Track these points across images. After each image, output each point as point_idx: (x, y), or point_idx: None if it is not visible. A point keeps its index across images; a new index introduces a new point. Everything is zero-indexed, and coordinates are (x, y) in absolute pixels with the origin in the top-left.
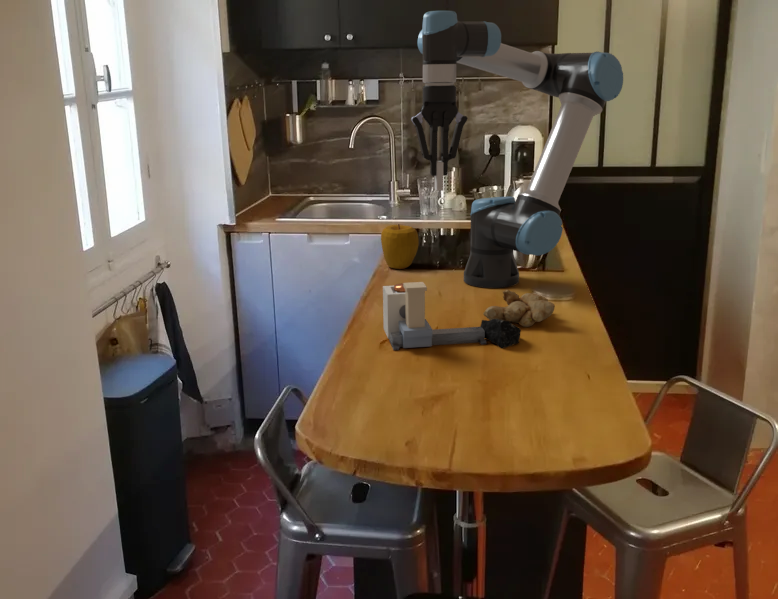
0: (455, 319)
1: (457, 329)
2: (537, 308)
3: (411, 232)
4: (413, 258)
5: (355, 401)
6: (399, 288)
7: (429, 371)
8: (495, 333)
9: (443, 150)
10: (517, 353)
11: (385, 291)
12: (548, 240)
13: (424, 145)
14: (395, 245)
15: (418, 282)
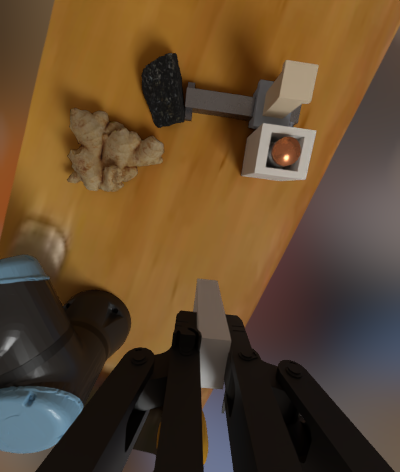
0: (190, 188)
1: (217, 105)
2: (95, 120)
3: None
4: None
5: None
6: (296, 140)
7: (284, 12)
8: (178, 70)
9: (199, 392)
10: (164, 38)
11: (311, 152)
12: None
13: (348, 445)
14: None
15: (287, 95)
